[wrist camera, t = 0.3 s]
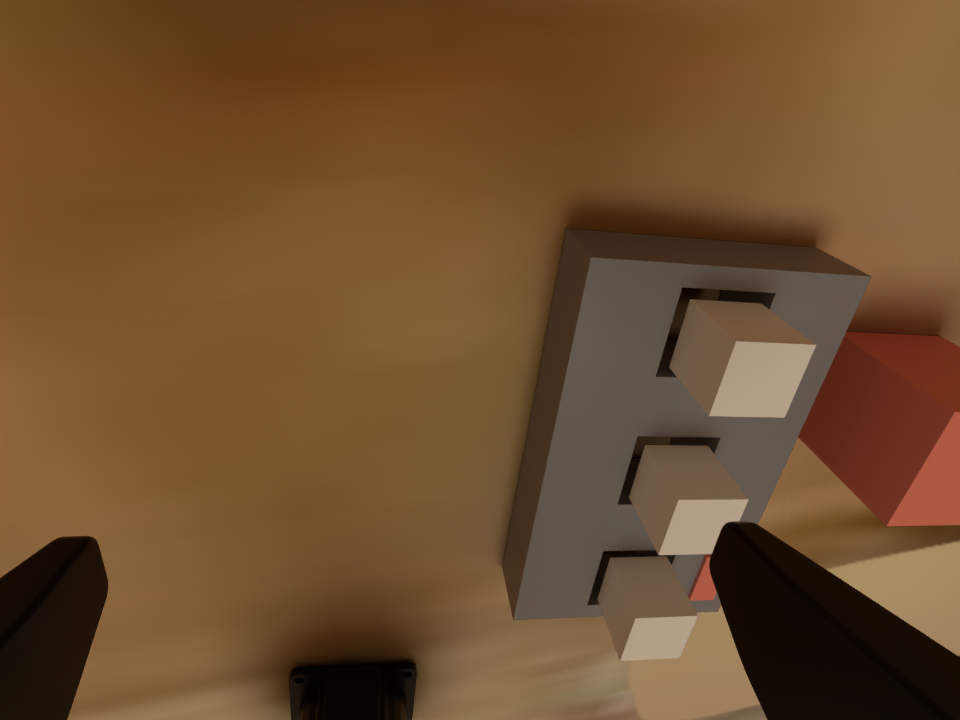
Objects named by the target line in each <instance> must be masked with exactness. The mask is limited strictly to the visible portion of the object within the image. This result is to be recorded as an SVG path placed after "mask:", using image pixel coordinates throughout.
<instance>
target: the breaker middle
mask: <svg viewBox="0 0 960 720" xmlns="http://www.w3.org/2000/svg"><path fill="white" fill-rule="evenodd" d="M629 498H630V500H631V502H632V504H633V506H634V508H635V510H636V512H637V514H638V516H639V518H640V520H641V522H642V524H643V526H644V528H645V530H646V532H647V534H648V536H649V538H650V540H651V541H652V543H653V545H654V547H655V549H656V551H657V553H658V555H689V554H712V552H713V549H714V547H715V544H716V541H717V539H718V536H719V534H720V531H721V529H722V527H723V526H724V525H725V524H726V523H727V522H731V521H740V518H741V516H742V514H743V512H744V509H745V507H746V505H747V502H748V500H749V499H748V498H747V496H746V495H745V494H744V492H743V491H742V490H741V489H740V487H739V486H738V485H737V483H736V482H735V481H734V479H733V478H732V477H731V475H730V474H729V473H728V471H727V470H726V469H725V467H724V466H723V465H722V463H721V462H720V461H719V459H718V458H717V457H716V456H715V454H714V453H713V452H712V450H711V449H710V448H709V446H689V445H645V447H644V450H643V453H642V457H641V460H640V463H639V466H638V470H637V473H636V476H635V479H634V483H633V486H632V489H631V492H630V495H629Z"/></svg>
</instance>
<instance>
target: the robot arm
mask: <svg viewBox="0 0 960 720" xmlns="http://www.w3.org/2000/svg"><path fill="white" fill-rule="evenodd" d="M709 569H710V574H711V577H712V580H713V583H714V586H715V589H716V591H717V594H718V597H719V600H720V603H721V606H722V608H723V611H724V614H725V617H726V620H727V622H728V625H729V628H730V631H731V634H732V637H733V639H734V642H735V645H736V648H737V651H738V653H739V656H740V658H741V661H742V664H743V666H744V669H745V671H746V674H747V676H748V678H749V680H750V683H751V685H752V687H753V689H754V691H755V693H756V696H757V698H758V700H759V702H760V704H761V706H762V709H763V711H764V713H765V715H766V717H767V719H768V720H960V657H959V656H957V655H955V654H954V653H952V652H951V651H949V650H948V649H946V648H945V647H943V646H942V645H940V644H938V643H937V642H935V641H934V640H933V639H931V638H929V637H928V636H926V635H925V634H923V633H922V632H920V631H919V630H917V629H916V628H914V627H913V626H911V625H909V624H908V623H906V622H905V621H904V620H902V619H901V618H899V617H898V616H896V615H894V614H893V613H891V612H890V611H888V610H887V609H885V608H884V607H882V606H880V605H879V604H878V603H876V602H875V601H873V600H872V599H870V598H869V597H867V596H866V595H864V594H862V593H861V592H859V591H858V590H856V589H855V588H853V587H852V586H850V585H849V584H847V583H846V582H844V581H843V580H841V579H840V578H838V577H836V576H835V575H833V574H832V573H830V572H829V571H827V570H826V569H824V568H823V567H821V566H820V565H818V564H817V563H815V562H814V561H812V560H811V559H809V558H808V557H806V556H805V555H803V554H801V553H800V552H798V551H797V550H795V549H794V548H792V547H791V546H789V545H788V544H786V543H785V542H783V541H782V540H780V539H779V538H777V537H776V536H774V535H773V534H771V533H769V532H768V531H766V530H765V529H763V528H762V527H760V526H759V525H757V524H756V523H754V522H750V521H731V522H727V523H726V524H725V525H724V526H723V527H722V529H721V531H720V534H719V536H718V539H717V541H716V544H715V547H714V549H713V552H712V554H711V557H710V562H709ZM107 593H108V578H107V574H106V571H105V567H104V563H103V560H102V556H101V552H100V548H99V545H98V543H97V541H96V540H95V538H93V537H90V536H73V537H60V538H57V539H55V540H53V541H52V542H50V543H49V544H47V545H46V546H45V547H43V548H42V549H40V550H39V551H38V552H36V553H35V554H33V555H32V556H31V557H29V558H28V559H26V560H25V561H24V562H22V563H21V564H19V565H18V566H16V567H15V568H14V569H12V570H11V571H9V572H8V573H7V574H5V575H4V576H2V577H1V578H0V720H67V718H68V715H69V713H70V710H71V707H72V704H73V701H74V698H75V695H76V692H77V689H78V686H79V683H80V679H81V676H82V673H83V670H84V667H85V664H86V661H87V658H88V654H89V651H90V648H91V645H92V642H93V639H94V636H95V632H96V629H97V626H98V623H99V620H100V617H101V614H102V610H103V607H104V604H105V601H106V597H107ZM416 675H417V671H416V664H414V663H413V662H391V663H372V664H353V665H334V666H315V667H299V668H295V669H293V670H292V671H291V672H290V678H289V689H290V705H291V720H412V714H413V704H414V695H415V685H416Z"/></svg>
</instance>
